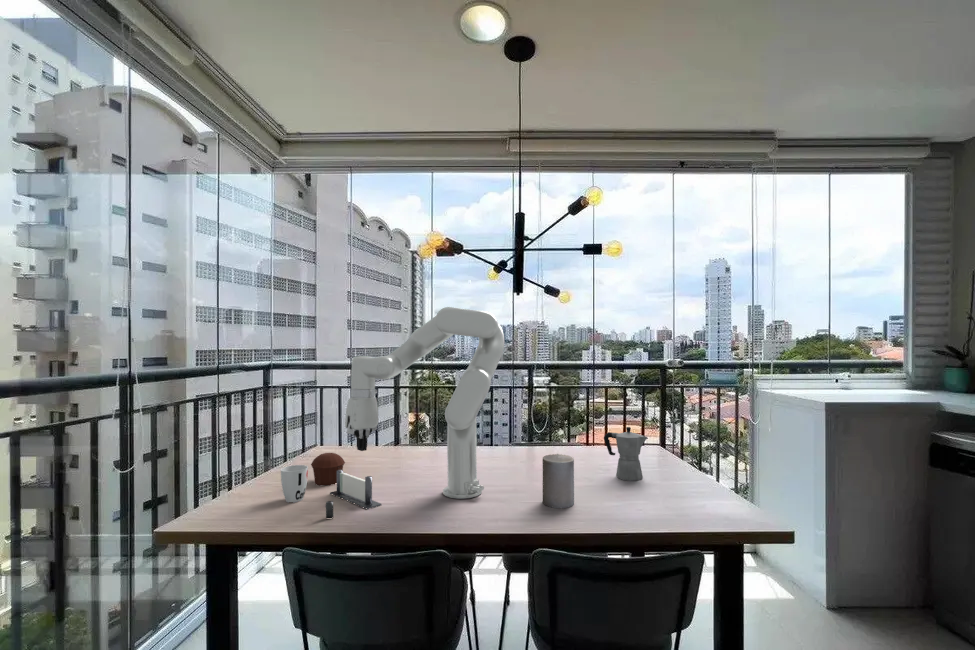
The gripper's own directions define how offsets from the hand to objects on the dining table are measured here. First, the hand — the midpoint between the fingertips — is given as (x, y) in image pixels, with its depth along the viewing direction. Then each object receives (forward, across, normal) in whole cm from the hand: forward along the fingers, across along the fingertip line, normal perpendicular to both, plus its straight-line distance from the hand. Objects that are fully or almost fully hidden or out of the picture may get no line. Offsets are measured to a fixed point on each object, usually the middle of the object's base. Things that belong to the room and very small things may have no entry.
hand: (361, 449), depth 160 cm
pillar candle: (+13, -36, +53) cm, 65 cm away
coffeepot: (+12, -75, +55) cm, 94 cm away
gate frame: (+14, +10, +3) cm, 18 cm away
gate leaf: (+13, +4, +3) cm, 14 cm away
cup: (+15, +17, -11) cm, 25 cm away
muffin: (+15, 0, -21) cm, 26 cm away
